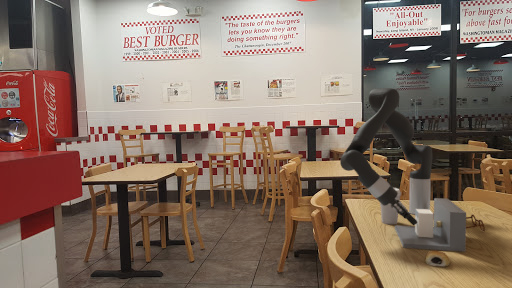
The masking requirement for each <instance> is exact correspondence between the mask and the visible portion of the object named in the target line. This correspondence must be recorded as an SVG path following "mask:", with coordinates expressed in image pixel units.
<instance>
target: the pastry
mask: <svg viewBox="0 0 512 288" xmlns="http://www.w3.org/2000/svg"><path fill="white" fill-rule="evenodd" d="M424 261H425V263H426V264H427V265H429V266H431V267H432V266H434V267H442V268H443V267H445V268H446V267H448V266H450V264H451V262H450V257H449V256H448V255H447V254H446V253H445V252H443V251H441V250H432V251H428V252H427V254H426V256H425V260H424Z"/></svg>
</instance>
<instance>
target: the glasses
mask: <svg viewBox="0 0 512 288" xmlns="http://www.w3.org/2000/svg"><path fill="white" fill-rule="evenodd" d="M468 219H470V220H471V223H472V225H469V226H467V225H466V229H471V228H478V227H479V229H480V231H481V232H483V231H484V232H485V230H486V229H485V228H486V227H485V224H484V222H483V220H482V219H477V218H476V217H475V214H471V215H470V216H466V220H468ZM477 223H478V224H477Z"/></svg>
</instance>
